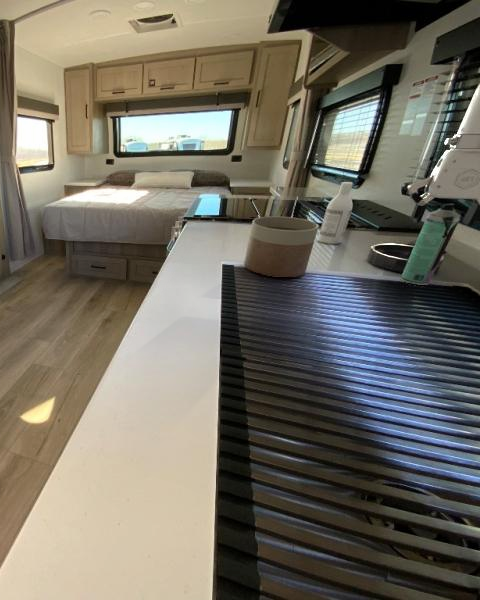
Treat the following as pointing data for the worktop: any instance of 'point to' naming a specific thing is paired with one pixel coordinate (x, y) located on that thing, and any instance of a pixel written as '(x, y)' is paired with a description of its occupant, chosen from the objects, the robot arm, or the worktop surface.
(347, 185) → the bath foam
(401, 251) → the pan
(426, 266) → the spray can
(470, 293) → the worktop surface
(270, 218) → the planter
